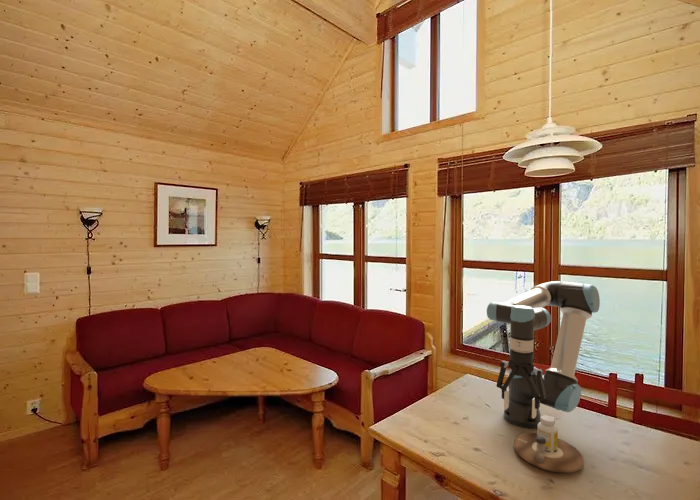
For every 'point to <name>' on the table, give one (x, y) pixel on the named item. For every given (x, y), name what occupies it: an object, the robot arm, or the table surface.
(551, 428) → the pill bottle
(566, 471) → the disc
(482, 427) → the table surface
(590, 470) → the table surface
